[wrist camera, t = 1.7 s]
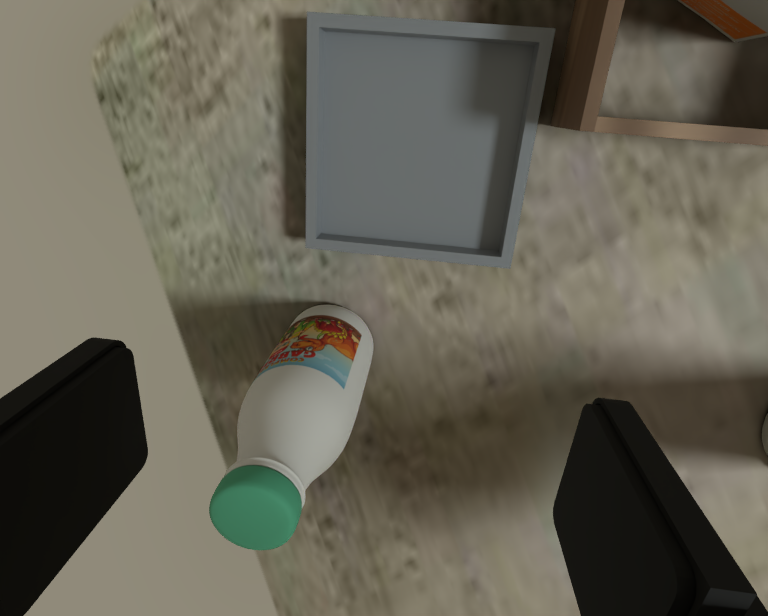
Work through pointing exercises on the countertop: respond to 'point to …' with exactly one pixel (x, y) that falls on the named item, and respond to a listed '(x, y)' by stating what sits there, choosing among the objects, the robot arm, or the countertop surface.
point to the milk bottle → (293, 425)
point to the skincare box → (733, 16)
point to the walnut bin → (588, 77)
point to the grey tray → (420, 135)
